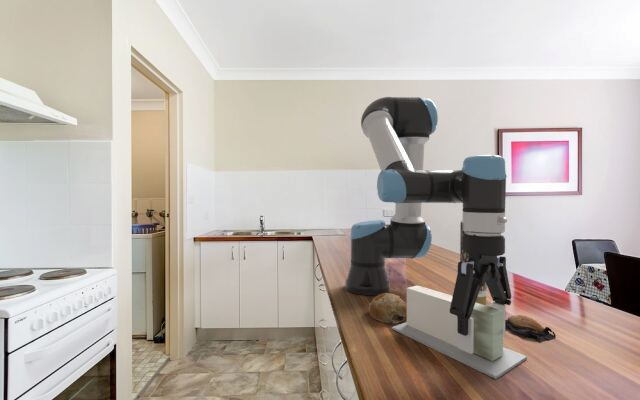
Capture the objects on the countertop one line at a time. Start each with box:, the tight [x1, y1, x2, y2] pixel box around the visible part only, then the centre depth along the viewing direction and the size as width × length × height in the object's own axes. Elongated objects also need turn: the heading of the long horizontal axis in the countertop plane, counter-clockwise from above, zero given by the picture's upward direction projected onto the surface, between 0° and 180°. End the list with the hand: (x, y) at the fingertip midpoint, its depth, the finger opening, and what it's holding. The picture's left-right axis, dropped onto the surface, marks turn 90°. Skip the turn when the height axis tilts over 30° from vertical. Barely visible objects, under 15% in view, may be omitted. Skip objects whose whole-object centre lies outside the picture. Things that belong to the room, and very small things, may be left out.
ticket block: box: [391, 285, 528, 380], centre depth 66 cm, size 24×12×10 cm, turn 34°
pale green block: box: [471, 303, 504, 361], centre depth 61 cm, size 6×4×9 cm, turn 34°
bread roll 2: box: [505, 314, 557, 343], centre depth 72 cm, size 11×8×4 cm
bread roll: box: [368, 292, 407, 325], centre depth 80 cm, size 10×10×8 cm
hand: (482, 342), depth 61 cm, fingers open, 11 cm apart
